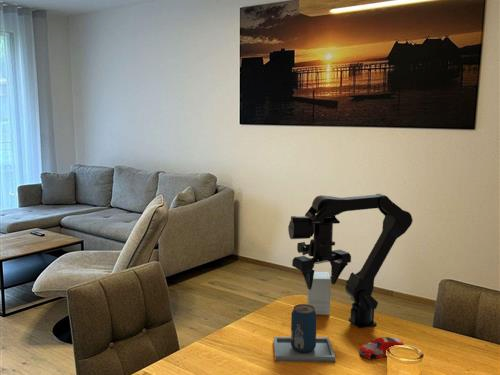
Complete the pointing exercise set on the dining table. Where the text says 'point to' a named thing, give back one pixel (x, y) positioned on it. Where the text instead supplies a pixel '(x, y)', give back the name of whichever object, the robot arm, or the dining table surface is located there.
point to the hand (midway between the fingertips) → (321, 286)
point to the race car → (378, 347)
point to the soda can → (303, 328)
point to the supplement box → (320, 293)
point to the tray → (287, 354)
